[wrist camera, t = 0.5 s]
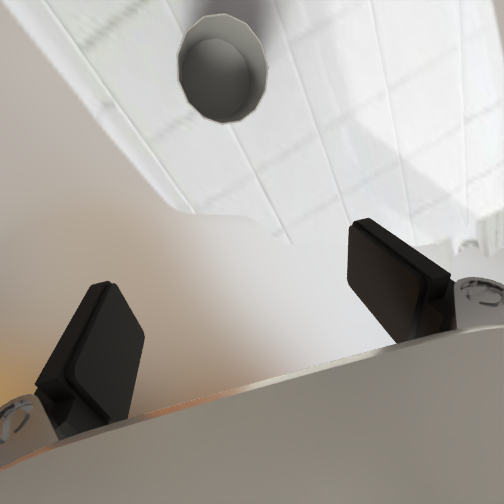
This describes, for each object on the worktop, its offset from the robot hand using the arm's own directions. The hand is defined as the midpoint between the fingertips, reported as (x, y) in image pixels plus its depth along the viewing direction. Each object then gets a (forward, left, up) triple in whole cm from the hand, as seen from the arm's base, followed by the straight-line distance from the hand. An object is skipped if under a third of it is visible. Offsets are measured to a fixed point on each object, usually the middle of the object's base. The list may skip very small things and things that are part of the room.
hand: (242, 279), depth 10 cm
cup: (-8, -4, -31) cm, 32 cm away
